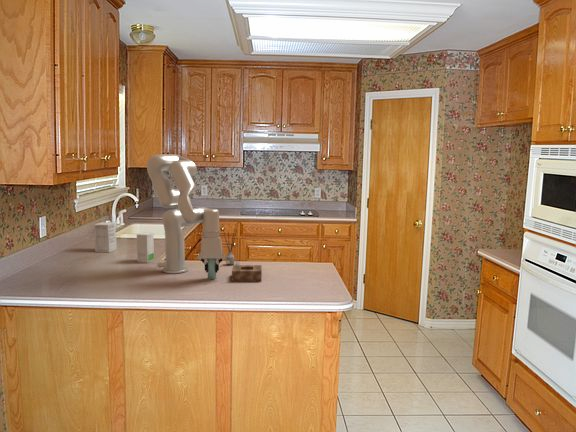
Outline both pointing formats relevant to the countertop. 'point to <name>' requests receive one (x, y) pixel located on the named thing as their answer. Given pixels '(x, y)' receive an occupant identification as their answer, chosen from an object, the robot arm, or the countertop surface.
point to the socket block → (246, 273)
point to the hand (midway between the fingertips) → (211, 271)
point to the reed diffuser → (230, 253)
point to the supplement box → (105, 237)
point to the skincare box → (145, 247)
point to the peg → (211, 269)
